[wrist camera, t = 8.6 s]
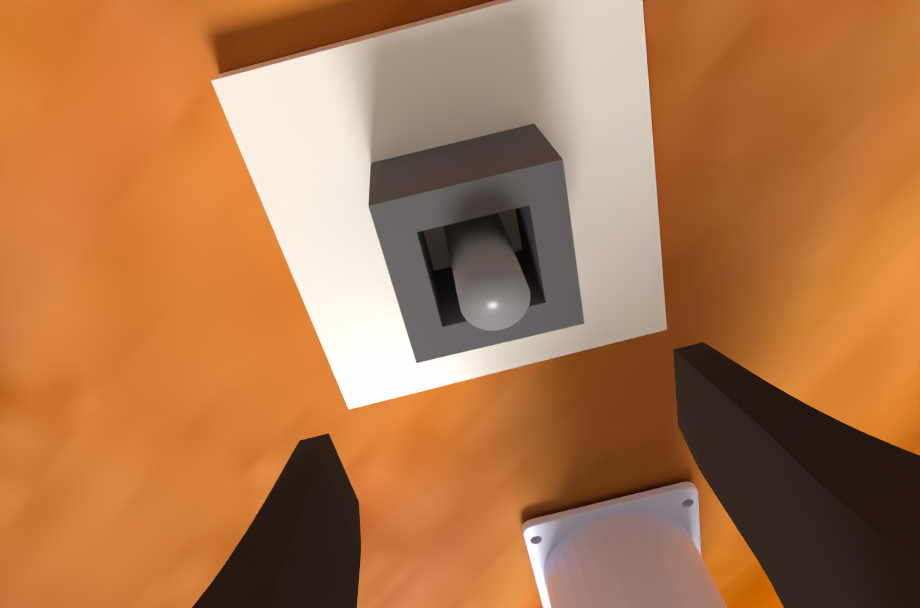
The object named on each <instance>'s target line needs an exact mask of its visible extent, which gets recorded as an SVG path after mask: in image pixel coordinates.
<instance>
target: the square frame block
mask: <svg viewBox="0 0 920 608" xmlns="http://www.w3.org/2000/svg"><path fill="white" fill-rule="evenodd" d="M368 206H369V210H370V213H371V216H372V219H373V223H374V226H375V229H376V233H377V236H378V239H379V242H380V246H381V249H382V252H383V255H384V259H385V262H386V265H387V269H388V272H389V275H390V278H391V282H392V285H393V288H394V291H395V295H396V298H397V301H398V305H399V308H400V311H401V314H402V318H403V321H404V324H405V327H406V331H407V334H408V337H409V340H410V344H411V347H412V350H413V354H414V357H415V360H416V363H419V362H424V361H428V360H432V359H436V358H441V357H445V356H449V355H453V354H458V353H462V352H466V351H470V350H475V349H479V348H483V347H487V346H492V345H496V344H500V343H504V342H509V341H513V340H517V339H521V338H526V337H530V336H534V335H538V334H542V333H547V332H551V331H555V330H559V329H564V328H568V327H572V326H576V325H581V324H584V317H583V309H582V302H581V294H580V286H579V279H578V271H577V263H576V256H575V248H574V241H573V233H572V225H571V218H570V210H569V202H568V195H567V187H566V180H565V172H564V164H563V159H562V158H561V156H560V155H559V154H558V153H557V151H556V150H555V149H554V148H553V146H552V145H551V144H550V143H549V141H548V140H547V139H546V138H545V136H544V135H543V134H542V133H541V131H540V130H539V129H538V128H537V126H536V125H535V124H530V125H526V126H522V127H518V128H514V129H510V130H505V131H501V132H497V133H493V134H489V135H485V136H480V137H476V138H472V139H468V140H464V141H460V142H456V143H451V144H447V145H443V146H439V147H435V148H431V149H427V150H422V151H418V152H414V153H410V154H406V155H402V156H398V157H393V158H389V159H385V160H381V161H377V162H373V163H371V167H370V185H369V203H368ZM512 209H515V210H516V216H517V221H518V227H519V233H520V238H521V244H522V249H523V250H520V251H516V252H514V253H515V255H516V258H517V260H518V262H519V265H520V267H521V270H522V272H523V275H524V277H525V279H526V282H527V284H528V287H529V290H530V304H529V307H528V309H527V311H526V313H525V314H524V316H523V317H522V318H521V319H520V320H519V321H518V322H516V323H515V324H513V325H512V326H510V327H508V328H505V329H501V330H495V331H488V330H483V329H479V328H477V327H475V326H473V325H471V324H470V323H469V322H468V321H467V320H466V319H465V318H464V316H463V314H462V312H461V310H460V305H459V300H458V295H457V290H456V286H455V281H454V276H453V271H452V267H448V268H444V269H440V270H436V271H434V270H433V266H432V262H431V258H430V254H429V251H428V247H427V243H426V239H425V235H424V232H423V231H424V230H428V229H432V228H437V227H441V226H445V225H449V224H453V223H457V222H462V221H466V220H470V219H474V218H478V217H483V216H487V215H491V214H495V213H499V212H503V211H508V210H512Z"/></svg>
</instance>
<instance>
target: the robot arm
mask: <svg viewBox="0 0 920 608" xmlns="http://www.w3.org/2000/svg"><path fill="white" fill-rule="evenodd" d="M674 365H675V381H676V397H677V413H678V426H679V428H680V430H681V432H682V434H683V436H684V439H685V441H686V443H687V445H688V447H689V449H690V451H691V453H692V455H693V457H694V459H695V462H696V464H697V466H698V468H699V469H700V471H701V473H702V474H703V476H704V477H705V479H706V481H707V482H708V484H709V485H710V487H711V488H712V490H713V491H714V493H715V495H716V496H717V498H718V499H719V501H720V502H721V504H722V506H723V507H724V509H725V510H726V512H727V513H728V515H729V516H730V518H731V519H732V521H733V523H734V524H735V526H736V527H737V529H738V530H739V532H740V533H741V535H742V536H743V538H744V540H745V541H746V543H747V544H748V546H749V547H750V549H751V550H752V552H753V553H754V555H755V557H756V558H757V560H758V561H759V563H760V565H761V566H762V568H763V570H764V571H765V573H766V575H767V576H768V578H769V580H770V582H771V583H772V585H773V587H774V589H775V591H776V593H777V595H778V597H779V599H780V601H781V603H782V605H783V607H784V608H920V456H919V455H916V454H914V453H911V452H909V451H906V450H904V449H901V448H899V447H896V446H894V445H891V444H889V443H887V442H885V441H882V440H880V439H878V438H875V437H873V436H871V435H868V434H866V433H864V432H861V431H859V430H857V429H855V428H853V427H850V426H848V425H846V424H844V423H842V422H840V421H838V420H836V419H834V418H832V417H830V416H828V415H826V414H824V413H822V412H820V411H818V410H816V409H814V408H813V407H811V406H809V405H807V404H805V403H803V402H801V401H800V400H798V399H796V398H794V397H792V396H791V395H789V394H787V393H785V392H784V391H782V390H780V389H778V388H777V387H775V386H773V385H771V384H770V383H768V382H766V381H765V380H763V379H761V378H760V377H758V376H756V375H755V374H753V373H752V372H750V371H748V370H747V369H745V368H744V367H742V366H740V365H739V364H737V363H736V362H734V361H732V360H731V359H729V358H728V357H726V356H724V355H723V354H721V353H720V352H718V351H716V350H715V349H713V348H712V347H710V346H708V345H707V344H705V343H699V344H695V345H690V346H686V347H682V348H678V349H674ZM522 532H523V536H524V539H525V543H526V547H527V551H528V554H529V558H530V562H531V565H532V569H533V573H534V577H535V580H536V584H537V588H538V591H539V595H540V599H541V603H542V606H543V608H727V606H726V604H725V602H724V600H723V598H722V596H721V594H720V592H719V590H718V588H717V586H716V585H715V583H714V581H713V579H712V577H711V575H710V573H709V571H708V569H707V567H706V565H705V563H704V561H703V559H702V557H701V541H700V521H699V502H698V491H697V489H696V487H695V485H694V484H693V483H692V482H681V483H677V484H673V485H669V486H665V487H661V488H657V489H653V490H648V491H644V492H640V493H636V494H632V495H628V496H624V497H620V498H616V499H612V500H607V501H603V502H599V503H595V504H591V505H587V506H583V507H579V508H575V509H571V510H566V511H562V512H558V513H554V514H550V515H546V516H542V517H538V518H534V519H530V520H527V521H526V522H525V523H524V524H523V525H522ZM535 536H536V537H535ZM360 556H361V536H360V516H359V502H358V499H357V497H356V495H355V492H354V490H353V488H352V486H351V483H350V481H349V479H348V476H347V474H346V472H345V470H344V467H343V465H342V463H341V461H340V458H339V456H338V454H337V451H336V449H335V447H334V445H333V442H332V440H331V438H330V436H329V434H325V435H321V436H317V437H313V438H308V439H304V440H300V441H299V443H298V445H297V446H296V448H295V450H294V451H293V453H292V455H291V456H290V458H289V460H288V462H287V464H286V465H285V467H284V469H283V471H282V472H281V474H280V476H279V478H278V480H277V481H276V483H275V485H274V487H273V488H272V490H271V492H270V493H269V495H268V497H267V499H266V500H265V502H264V504H263V505H262V507H261V509H260V510H259V512H258V514H257V515H256V517H255V519H254V520H253V522H252V524H251V525H250V527H249V528H248V530H247V532H246V533H245V535H244V536H243V538H242V539H241V541H240V542H239V544H238V545H237V547H236V548H235V550H234V551H233V553H232V554H231V556H230V557H229V559H228V560H227V562H226V563H225V565H224V566H223V568H222V569H221V570H220V572H219V573H218V575H217V576H216V577H215V579H214V580H213V582H212V583H211V584H210V586H209V587H208V588H207V589H206V591H205V592H204V593H203V595H202V596H201V597H200V598H199V600H198V601H197V602H196V603H195V605H194V606H193V607H192V608H357V596H358V584H359V570H360Z"/></svg>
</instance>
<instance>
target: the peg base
mask: <svg viewBox="0 0 920 608" xmlns="http://www.w3.org/2000/svg"><path fill="white" fill-rule="evenodd" d="M211 82H212V84H213V86H214V89H215V91H216V94H217V96H218V98H219V101H220V103H221V106H222V108H223V110H224V113H225V115H226V118H227V120H228V122H229V125H230V127H231V129H232V132H233V134H234V137H235V139H236V141H237V144H238V146H239V149H240V151H241V153H242V156H243V158H244V161H245V163H246V165H247V168H248V170H249V172H250V175H251V177H252V180H253V182H254V184H255V187H256V189H257V192H258V194H259V196H260V199H261V201H262V204H263V206H264V208H265V211H266V213H267V215H268V218H269V220H270V223H271V225H272V227H273V230H274V232H275V235H276V237H277V239H278V242H279V244H280V247H281V249H282V251H283V254H284V256H285V258H286V261H287V263H288V266H289V268H290V270H291V273H292V275H293V278H294V280H295V282H296V285H297V287H298V290H299V292H300V294H301V297H302V299H303V301H304V304H305V306H306V309H307V311H308V313H309V316H310V318H311V321H312V323H313V325H314V328H315V330H316V333H317V335H318V337H319V340H320V342H321V344H322V347H323V349H324V352H325V354H326V356H327V359H328V361H329V364H330V366H331V368H332V371H333V373H334V376H335V378H336V380H337V383H338V385H339V387H340V390H341V392H342V395H343V397H344V399H345V402H346V404H347V407H348V409H352V408H356V407H360V406H364V405H368V404H372V403H376V402H380V401H384V400H388V399H392V398H396V397H400V396H404V395H408V394H412V393H416V392H420V391H424V390H428V389H432V388H436V387H440V386H444V385H448V384H452V383H456V382H460V381H464V380H468V379H472V378H476V377H480V376H484V375H488V374H492V373H496V372H500V371H504V370H508V369H512V368H516V367H520V366H524V365H528V364H532V363H536V362H540V361H544V360H548V359H552V358H556V357H560V356H564V355H568V354H572V353H576V352H580V351H584V350H588V349H592V348H596V347H600V346H604V345H608V344H612V343H616V342H620V341H624V340H628V339H632V338H636V337H640V336H644V335H648V334H652V333H656V332H660V331H664V330H667V323H666V309H665V296H664V283H663V269H662V256H661V242H660V229H659V215H658V202H657V188H656V175H655V161H654V148H653V134H652V121H651V107H650V94H649V80H648V67H647V53H646V40H645V27H644V13H643V0H495V1H491V2H488V3H484V4H480V5H476V6H472V7H469V8H465V9H461V10H457V11H454V12H450V13H446V14H442V15H439V16H435V17H431V18H427V19H424V20H420V21H416V22H412V23H409V24H405V25H401V26H397V27H394V28H390V29H386V30H382V31H379V32H375V33H371V34H367V35H364V36H360V37H356V38H352V39H348V40H345V41H341V42H337V43H333V44H330V45H326V46H322V47H318V48H315V49H311V50H307V51H303V52H300V53H296V54H292V55H288V56H285V57H281V58H277V59H273V60H270V61H266V62H262V63H258V64H255V65H251V66H247V67H243V68H240V69H236V70H232V71H228V72H224V73H221V74H219V75H217V76H216V77H215V78H214V79H213V80H211ZM530 124H535V125H536V126H537V128H538V129H539V130H540V131H541V133H542V134H543V135H544V136H545V138H546V139H547V140H548V141H549V143H550V144H551V145H552V146H553V148H554V149H555V150H556V151H557V153H558V154H559V155H560V156H561V158H562V159H563V164H564V172H565V180H566V187H567V195H568V202H569V210H570V218H571V225H572V233H573V241H574V248H575V256H576V263H577V271H578V279H579V286H580V294H581V302H582V309H583V317H584V324H581V325H576V326H572V327H568V328H564V329H559V330H555V331H551V332H547V333H542V334H538V335H534V336H530V337H526V338H521V339H517V340H513V341H509V342H504V343H500V344H496V345H492V346H487V347H483V348H479V349H475V350H470V351H466V352H462V353H458V354H453V355H449V356H445V357H441V358H436V359H432V360H428V361H424V362H419V363H416V360H415V357H414V354H413V350H412V347H411V344H410V340H409V337H408V334H407V331H406V327H405V324H404V321H403V318H402V314H401V311H400V308H399V305H398V301H397V298H396V295H395V291H394V288H393V285H392V282H391V278H390V275H389V272H388V269H387V265H386V262H385V259H384V255H383V252H382V249H381V246H380V242H379V239H378V236H377V233H376V229H375V226H374V223H373V219H372V216H371V213H370V210H369V206H368V203H369V185H370V167H371V163H373V162H377V161H381V160H385V159H389V158H393V157H398V156H402V155H406V154H410V153H414V152H418V151H422V150H427V149H431V148H435V147H439V146H443V145H447V144H451V143H456V142H460V141H464V140H468V139H472V138H476V137H480V136H485V135H489V134H493V133H497V132H501V131H505V130H510V129H514V128H518V127H522V126H526V125H530ZM423 232H424V235H425V239H426V243H427V247H428V251H429V254H430V258H431V262H432V266H433V270H434V271H436V270H440V269H444V268H448V267H452V271H453V276H454V281H455V286H456V290H457V295H458V300H459V305H460V310H461V312H462V314H463V316H464V318H465V319H466V320H467V321H468V322H469V323H470V324H471V325H473V326H475V327H477V328H479V329H483V330H488V331H495V330H501V329H505V328H508V327H510V326H512V325H513V324H515V323H516V322H518V321H519V320H520V319H521V318H522V317H523V316H524V314H525V313H526V311H527V309H528V307H529V304H530V290H529V287H528V284H527V282H526V279H525V277H524V275H523V272H522V270H521V267H520V265H519V262H518V260H517V258H516V255H515V253H514V252H516V251H520V250H523V249H522V244H521V238H520V233H519V227H518V221H517V216H516V210H515V209H512V210H508V211H503V212H499V213H495V214H491V215H487V216H483V217H478V218H474V219H470V220H466V221H462V222H457V223H453V224H449V225H445V226H441V227H437V228H432V229H428V230H424V231H423Z"/></svg>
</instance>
